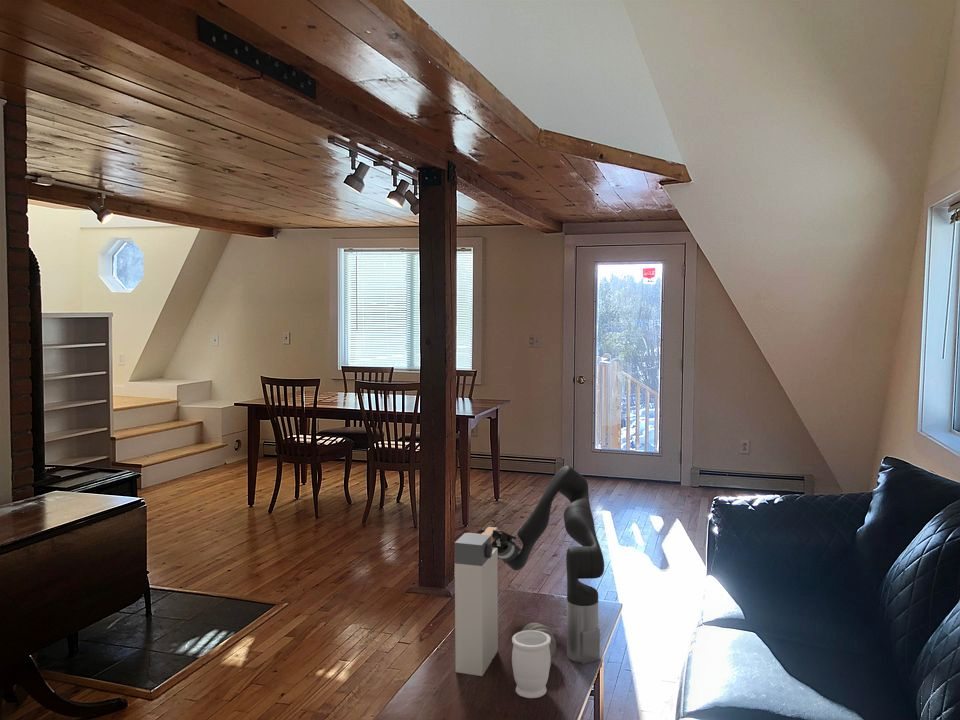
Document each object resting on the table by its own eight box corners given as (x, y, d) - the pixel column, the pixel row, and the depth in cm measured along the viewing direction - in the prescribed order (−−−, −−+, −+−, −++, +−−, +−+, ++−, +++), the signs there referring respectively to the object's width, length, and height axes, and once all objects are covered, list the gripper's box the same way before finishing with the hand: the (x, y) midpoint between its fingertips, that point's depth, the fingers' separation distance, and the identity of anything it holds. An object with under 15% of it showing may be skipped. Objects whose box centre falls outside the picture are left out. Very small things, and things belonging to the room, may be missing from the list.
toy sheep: (540, 647, 236) (540, 612, 235) (568, 672, 221) (568, 634, 220) (509, 653, 232) (509, 618, 231) (535, 679, 217) (535, 641, 216)
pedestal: (472, 647, 236) (471, 526, 233) (501, 651, 234) (501, 528, 230) (455, 672, 221) (454, 542, 218) (486, 676, 218) (485, 545, 215)
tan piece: (481, 535, 242) (481, 518, 242) (504, 537, 240) (504, 520, 239) (465, 551, 227) (465, 533, 227) (490, 554, 225) (490, 536, 224)
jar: (532, 677, 218) (532, 626, 217) (558, 692, 210) (558, 638, 209) (503, 690, 211) (503, 637, 210) (529, 705, 203) (530, 650, 202)
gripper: (482, 531, 254) (467, 518, 239) (523, 535, 250) (511, 522, 235) (478, 554, 251) (464, 542, 236) (520, 558, 247) (508, 547, 232)
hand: (488, 532), depth 235 cm, fingers closed on tan piece, 3 cm apart
